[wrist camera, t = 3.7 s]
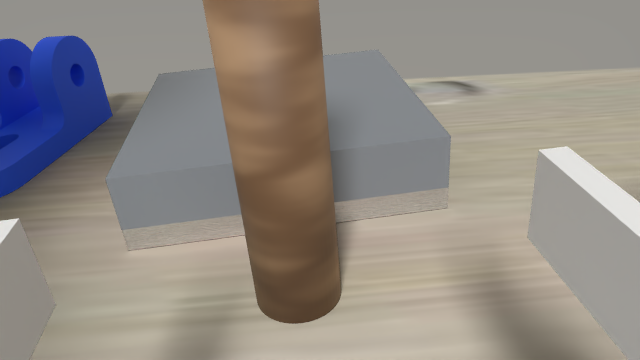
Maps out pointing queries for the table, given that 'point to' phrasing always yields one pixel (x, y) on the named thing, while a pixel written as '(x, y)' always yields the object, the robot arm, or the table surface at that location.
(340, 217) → the socket block
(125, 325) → the table surface
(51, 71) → the bracket
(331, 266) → the walnut dowel
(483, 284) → the table surface
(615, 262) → the robot arm
